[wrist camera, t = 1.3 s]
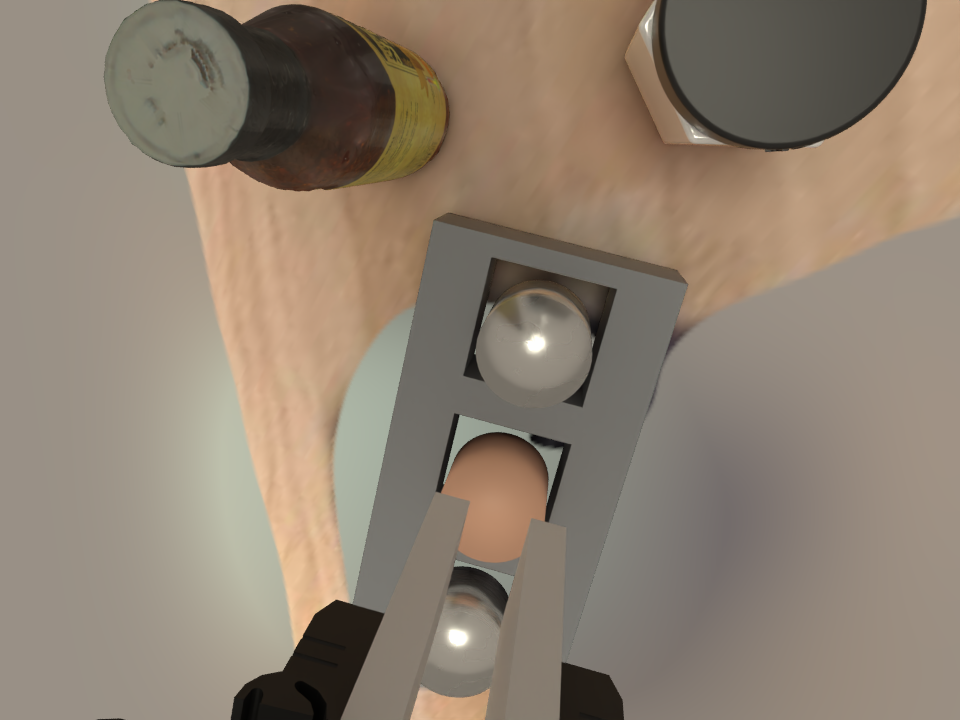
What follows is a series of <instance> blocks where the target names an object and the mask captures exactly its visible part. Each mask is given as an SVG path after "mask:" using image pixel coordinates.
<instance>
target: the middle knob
mask: <svg viewBox="0 0 960 720" xmlns="http://www.w3.org/2000/svg"><path fill="white" fill-rule="evenodd" d="M547 491H548V471H547V467H546V464H545V462H544V460H543V458H542V456H541V455H540V453H539V452H538V451H537V450H536V448H535V447H534V446H532V445H531V444H530V443H529V442H527V441H526V440H524V439H522V438H520V437H518V436H516V435H512V434H508V433H502V432H494V433H486V434H483V435H480V436H477V437H475V438H473V439H472V440H470V441H468V442H467V443H466V444H465V445H464V446H463V447H462V448H461V449H460V451H459V452H458V454H457V455H456V457H455V459H454V462H453V464H452V467H451V469H450V472H449V474H448V477H447V480H446V482H445V484H444V487H443V489H442V492H441V493H442V494H446V495H449V496H453V497H457V498H460V499H464V500H468V501H470V504H469V508H468V512H467V516H466V520H465V524H464V528H463V532H462V536H461V540H460V544H459V547H458V551H460V552H461V553H463V554H464V555H466V556H468V557H470V558H472V559H475V560H478V561H483V562H490V563H500V562H506V561H510V560H513V559H516V558H518V557H520V556H521V552H522V549H523V545H524V542H525V538H526V535H527V531H528V528H529V524H530V521H531V518H533V519H537V520H541V521H544V522H545V512H546V502H547Z"/></svg>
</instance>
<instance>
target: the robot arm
mask: <svg viewBox="0 0 960 720" xmlns="http://www.w3.org/2000/svg"><path fill="white" fill-rule="evenodd" d="M469 504H470V501H468V500H464V499H460V498H457V497H453V496H449V495H446V494H442V493H438V492H435V495H434V497H433V499H432V502H431V504H430V507H429V509H428V511H427V514H426V516H425V519H424V521H423V523H422V526H421V528H420V531H419V533H418V535H417V538H416V540H415V542H414V545H413V547H412V550H411V552H410V554H409V557H408V559H407V562H406V564H405V566H404V569H403V571H402V574H401V576H400V578H399V581H398V583H397V586H396V588H395V590H394V593H393V595H392V598H391V600H390V602H389V605H388V607H387V609H386V612H385V613H381V612H378V611H374V610H371V609H367V608H364V607H360V606H357V605H353V604H350V603H346V602H343V601H339V600H335V601H334V602H332V603H331V604H329V605H328V606H326V607H325V608H323V609H322V610H320V611H319V612H317V613H316V614H315V615H314V617H313V619H312V620H311V622H310V624H309V626H308V627H307V629H306V631H305V633H304V634H303V638H302V639H301V640H300V642H299V643H298V645H297V647H296V649H295V650H294V653H293V656H291V657H290V659H289V661H288V663H287V665H286V666H285V668H284V670H283V672H276V673H271V674H265V675H261V676H259V677H258V678H256V679H254V680H252V681H250V682H249V683H247V684H245V685H244V687H243V688H242V689H241V690H240V691H239V692H238V694H237V695H236V696H235V697H234V703H233V709H232V715H231V720H410V718H411V714H412V711H413V708H414V704H415V701H416V698H417V694H418V691H419V687H420V684H421V681H422V677H423V674H424V671H425V667H426V664H427V660H428V657H429V654H430V650H431V647H432V644H433V640H434V637H435V634H436V630H437V627H438V623H439V620H440V617H441V613H442V610H443V606H444V602H445V598H446V595H447V591H448V587H449V583H450V579H451V575H452V571H453V567H454V563H455V559H456V555H457V551H458V547H459V544H460V540H461V536H462V532H463V528H464V524H465V520H466V516H467V512H468V508H469ZM565 553H566V527H562V526H559V525H555V524H552V523H548V522H544V521H541V520H537V519H533V518H531V521H530V524H529V528H528V531H527V535H526V538H525V542H524V545H523V549H522V552H521V556H520V559H519V563H518V566H517V570H516V573H515V577H514V581H513V584H512V588H511V591H510V595H509V598H508V602H507V605H506V609H505V612H504V616H503V619H502V623H501V627H500V633H499V639H498V645H497V651H496V657H495V663H494V669H493V675H492V681H491V687H490V693H489V699H488V705H487V711H486V717H485V720H624V716H623V715H624V714H623V701H622V698H621V696H620V695H619V693H618V691H617V689H616V687H615V685H614V684H613V682H612V680H611V678H610V676H609V675H606V674H603V673H599V672H596V671H592V670H589V669H585V668H582V667H578V666H575V665H571V664H568V663H564V662H562V635H563V608H564V581H565ZM98 720H124V719H98Z"/></svg>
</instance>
